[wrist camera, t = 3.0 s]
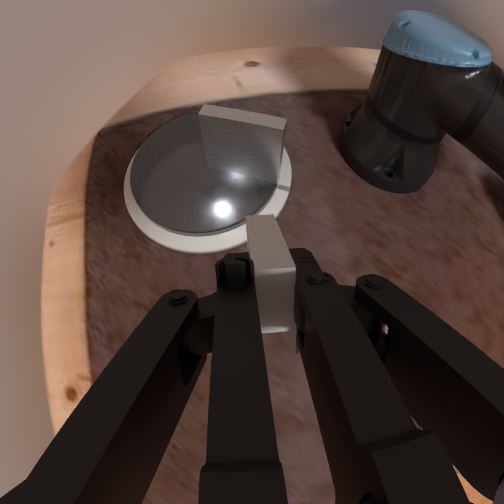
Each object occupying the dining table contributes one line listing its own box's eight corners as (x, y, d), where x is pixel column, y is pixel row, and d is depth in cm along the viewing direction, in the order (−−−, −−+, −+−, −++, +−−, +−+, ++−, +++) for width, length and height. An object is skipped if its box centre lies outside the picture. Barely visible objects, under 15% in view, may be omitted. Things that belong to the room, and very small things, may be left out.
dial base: (248, 102, 44) (248, 96, 43) (321, 211, 37) (323, 206, 36) (114, 152, 41) (111, 146, 40) (151, 283, 34) (148, 280, 32)
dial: (109, 215, 35) (71, 166, 26) (170, 110, 42) (156, 56, 32) (255, 255, 33) (257, 207, 24) (293, 132, 40) (302, 73, 30)
